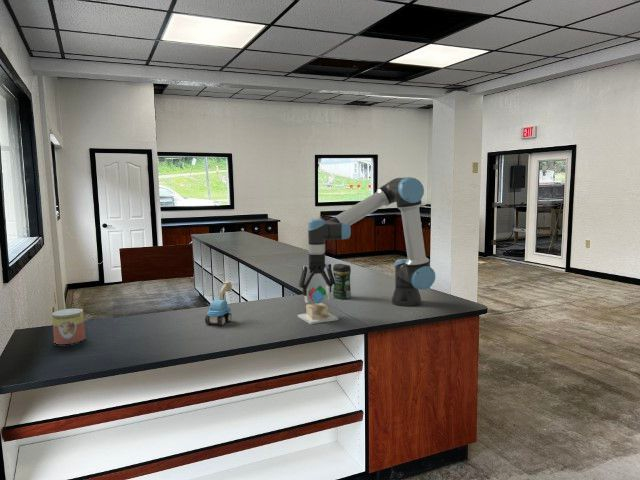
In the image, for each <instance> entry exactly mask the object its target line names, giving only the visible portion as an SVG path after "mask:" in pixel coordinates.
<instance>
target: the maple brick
mask: <svg viewBox="0 0 640 480" xmlns="http://www.w3.org/2000/svg"><path fill="white" fill-rule="evenodd" d="M305 309H306V310H305V312H306V313H305V314H306V315H307V316H308V317H310V318H311V319H320V318H328V317H329V313H330V312H329V311H330V309H329V306H328V305H326V304H325V303H323V302H320V303H319V304H317V303H316V302H315V303H310V304H309V303H306V305H305Z"/></svg>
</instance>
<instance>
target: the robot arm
mask: <svg viewBox="0 0 640 480" xmlns="http://www.w3.org/2000/svg"><path fill="white" fill-rule="evenodd" d="M424 194H425V188H424V185H423V184H422V182H421V181H420V179H417V178H416V177H410V176H408V177H405V176H404V177H396V178H393V179H392V180H389V181H388V182H386V183H385V184H384V185H382V186H380V187H379V188H377V189H376V192H374V193H373V194H371V195H370V196H368V197H366V198H364V199H363V200H361V201H359V202H358V203H356V204H354V205H352V206H351V207H349V208H347V209H345V210H344V211H342V212H340V213H339V214H337V215H336V216H334V217H332V218H330V219H329V220H325V219H321V218H319V219H317V218H314V219H309V220H308V223H307V224H308V225H307V226H308V227H307V232H308V233H307V235H308V245H307V247H308V253H309V254H308V265H302V268H301V269H302V271H301V276H300V279H299V282H298V287H299V288H300V289H302V295H303V296H304V302H305V303H306V304H309V303H310V298H309V290H310V289H309V288H308V286H309V285H310V283H311V281H312V279H313V277H314V276H315V275H318V274H320V275H321V277H322V278H323V280H324V281H325V283H326V284H325V291H326V294H325V300H327V301H330V300H331V293H332V287H333V286H334V284H335V280H334V273H333V269H332V264H331V263H329V262H328V263H326V240H327V241H328V240H329V241H331V240H334V241H335V240H343V241H344V240H348V239H350V237H351V231H352V230H351V226H352V225H353V224H355V223H357V222H359V221H360V220H362V219H364V218H365V217H367V216H369V215H370V214H372V213H374V212H375V211H377V210H378V209H380V208H382V207H384V206H386V207H387V206H389V205H391V204H393V203H396V208H397V209H398V210H399V211H400V214H401V221H402V227H403V235H404V242H405V249H406V255H407V258H398V259H397V260H395V265H394V278H395V279H394V281H395V282H394V284H395V285H394V290H393V294H392V297H391V303H392V304H393V305H396V306H400V307H417V306H419V305H421V304H422V297H421V296H422V295H421V293H420V290H422V291H424V290H427V289H430V288H431V287H432V286H433V284H434V283H435V281H436V272H435V270H434V269H433V268H432V267H431V263H430V258H428V257H427V256H426V249H425V242H424V236H423V229H422V221H421V213H420V207H421V206H422V199H423V196H424ZM325 269H326V271H325ZM326 272H327V273H326Z"/></svg>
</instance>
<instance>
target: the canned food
mask: <svg viewBox="0 0 640 480" xmlns="http://www.w3.org/2000/svg"><path fill="white" fill-rule="evenodd" d="M51 317H52V319H51V320H52V331H53V344H54V343H56V344H68V343H74V342H78V341H80V340H83V339H84V338H85V339H86V335H85V334H86V333H85V321H84V319H85V318H84V309H82V308H75V307H73V308H64V309H59V310H56V311H53V312H52V313H51ZM56 344H55V345H56Z"/></svg>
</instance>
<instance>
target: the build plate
mask: <svg viewBox="0 0 640 480" xmlns="http://www.w3.org/2000/svg"><path fill="white" fill-rule="evenodd" d="M297 318H299V319H301V320H303V321H304V322H306V323H308V324H309V325H315V324H320V323H326V322H327V323H328V322H333V321H339V317H338V316H336V315H333V314H331V313H330V312H329V317H328V318H320V319H311V318H310V317H308V316H307V315H306V313H301V314H297Z"/></svg>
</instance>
